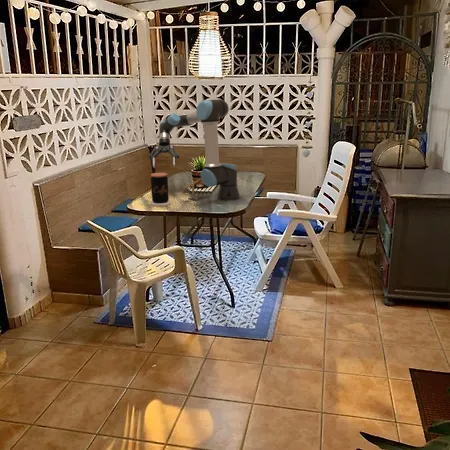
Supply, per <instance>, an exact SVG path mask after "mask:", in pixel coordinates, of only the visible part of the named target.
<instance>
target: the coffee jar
mask: <svg viewBox="0 0 450 450" xmlns="http://www.w3.org/2000/svg"><path fill="white" fill-rule="evenodd" d="M168 178H169V177H168V173H167V172H153V173H151V174H150V188H151V189H150V190H151V201H153V202H154V203H166V202H168V200H170V198H169V196H170V195H169V180H168Z"/></svg>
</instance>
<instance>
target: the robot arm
mask: <svg viewBox="0 0 450 450" xmlns="http://www.w3.org/2000/svg"><path fill="white" fill-rule="evenodd" d="M229 109H230V106H229V104H228V103H227V102H226V101H225V100H223V99H220V98H218V99H217V98H216V99H205V100H202V101H200V102H198V104H197V106H196V111H193V112H190V113H186V114H184V115H183V114H182V115H180V114H177V113H175V112H173V113H171V114H170V115H168V117H167V118H166V120H162V121H160V123H159V129H158V130H159V131H158V132H159V133H158V134H159V135H158V140H159V142H158V146H156V145H154V146H153V149H152V150H151V152H150V153H149V155H148V158H149V160H151V164H152V167H153V169H155V166H156V164H155V163H156V158H157V157H158V156H159V155H160V154H164V153H168V154H169V155H171V157H173V158H172V159H173V161H172V163H173V168H176V163H177V162H178V161H177V160H178V159H180V154H179V153H178V151H177V149H176V148H175V145H174V144H173V145H172V146H171V132H172V131H173V129H175V128H178V127H179V128H180V127H188V126H189V127H191V126H193V125H194V124H197V123H201V125H203V137H204V151H205V153H204V154H205V155H204V156H205V163H204V165H203V169H202V170H201V172H200V178H201V182H202V183H203V185H205V186H206V187H209V188H210V187H216V186H219V188H218V192H217V193H216V194H217V199H219V200H223V201H234V200H238V199H240V197H241V196H240V192H239V189H238V168H237V165H236V164H235V163H234V164H233V163H227V162H226V163H225V162H223V163H222V162H220V152H219V135H218V134H219V133H218V124H219V123H220V119H221V118H222V119H223V118H224V117H226V116H227V115H228V114H229Z"/></svg>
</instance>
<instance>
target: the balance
mask: <svg viewBox="0 0 450 450" xmlns="http://www.w3.org/2000/svg"><path fill="white" fill-rule="evenodd" d="M200 182H202V180H201V179H200V178H199V179H198V180H197V179H196V181H193V182H191V183H189V184H187V185H184V186H183V188H182V195H190V194H191V193H192V194H191V197H188V198H187V199H188V200H189V201H192V202H195V201H199V198H198V197H195V187H197V188H203V187H204V185H205V184H197V183H200ZM195 184H196V185H195ZM189 187H191V192H190V188H189Z"/></svg>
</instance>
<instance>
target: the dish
mask: <svg viewBox="0 0 450 450" xmlns="http://www.w3.org/2000/svg"><path fill="white" fill-rule="evenodd" d="M171 202H172V201H171V200H170V199H169V200H168V202H166V203H154V202H153V201H152V200H151V201H150V203H149V204H150V206H152V207H160V208H161V207H167V206H170V205H171V204H172V203H171Z"/></svg>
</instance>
